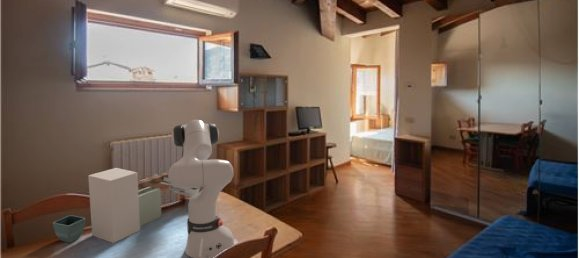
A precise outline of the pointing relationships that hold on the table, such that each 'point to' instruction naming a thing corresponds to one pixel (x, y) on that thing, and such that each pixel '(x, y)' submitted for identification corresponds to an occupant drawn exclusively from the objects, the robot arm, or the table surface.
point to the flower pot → (69, 228)
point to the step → (149, 204)
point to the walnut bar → (151, 181)
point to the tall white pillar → (114, 204)
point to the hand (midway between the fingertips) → (159, 177)
